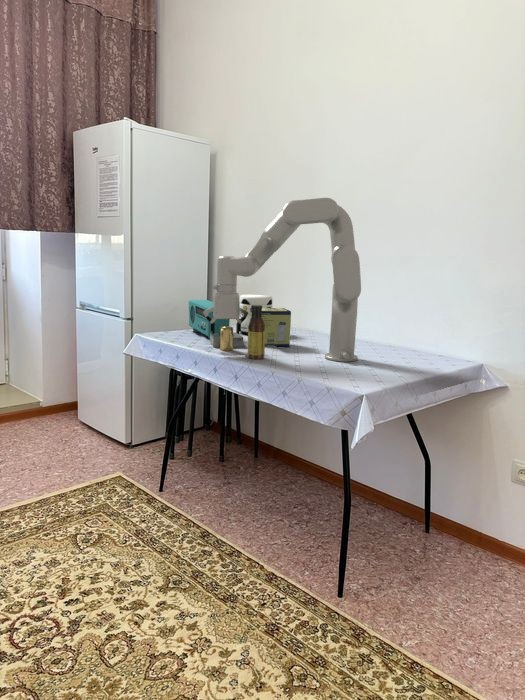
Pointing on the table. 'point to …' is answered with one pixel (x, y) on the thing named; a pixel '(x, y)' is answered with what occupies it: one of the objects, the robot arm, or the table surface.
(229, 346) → the gold drink can
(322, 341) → the table surface
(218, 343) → the housing
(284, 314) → the protein box
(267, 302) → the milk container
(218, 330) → the radio
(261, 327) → the sauce bottle
